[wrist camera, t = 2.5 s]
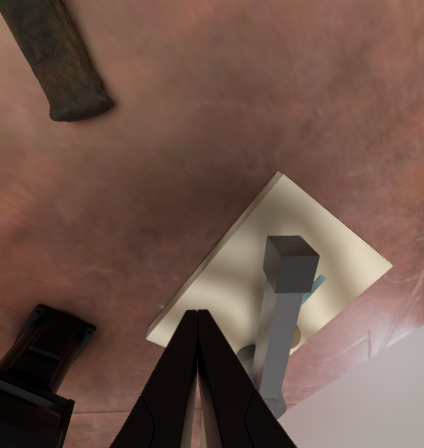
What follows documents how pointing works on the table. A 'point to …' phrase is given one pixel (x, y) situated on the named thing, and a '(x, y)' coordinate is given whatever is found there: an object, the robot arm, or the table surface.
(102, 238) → the table surface
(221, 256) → the board
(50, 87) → the wooden log
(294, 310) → the lever
